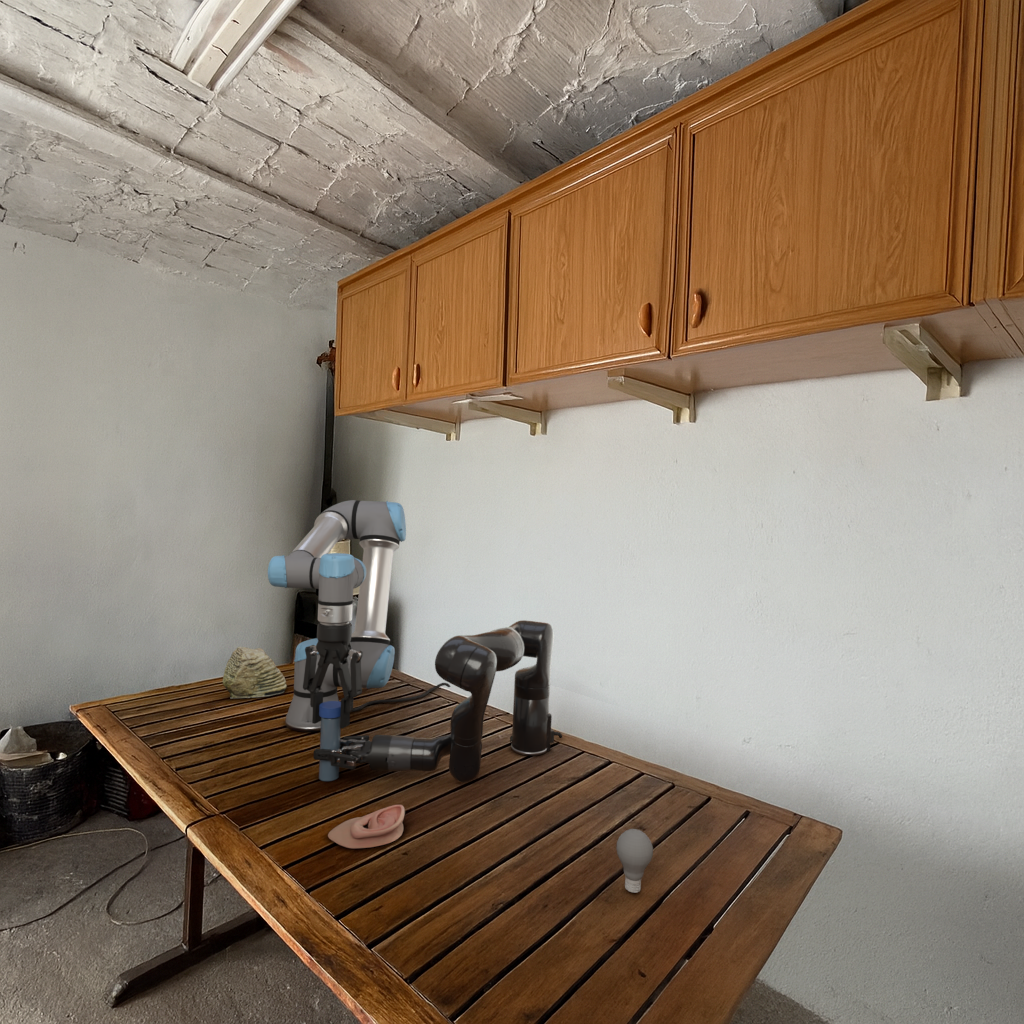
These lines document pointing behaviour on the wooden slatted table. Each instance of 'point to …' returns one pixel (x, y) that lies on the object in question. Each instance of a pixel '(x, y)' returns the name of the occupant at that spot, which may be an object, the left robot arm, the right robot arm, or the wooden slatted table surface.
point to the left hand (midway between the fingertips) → (330, 723)
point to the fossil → (252, 674)
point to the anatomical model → (370, 828)
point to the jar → (329, 747)
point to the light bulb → (634, 857)
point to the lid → (330, 709)
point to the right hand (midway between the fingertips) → (318, 749)
